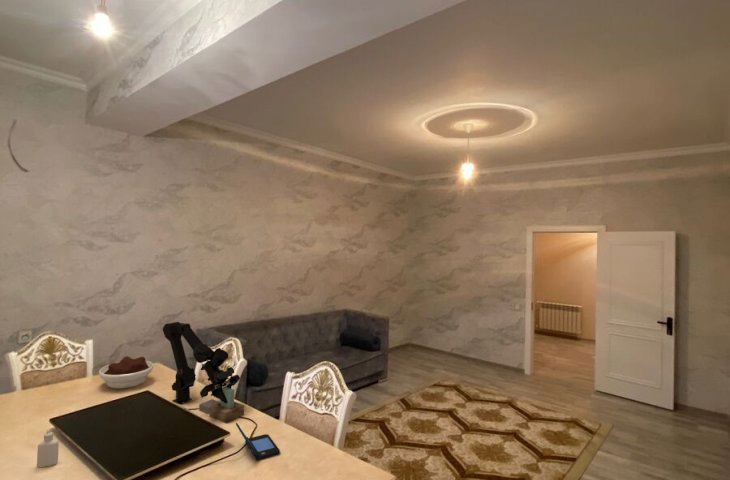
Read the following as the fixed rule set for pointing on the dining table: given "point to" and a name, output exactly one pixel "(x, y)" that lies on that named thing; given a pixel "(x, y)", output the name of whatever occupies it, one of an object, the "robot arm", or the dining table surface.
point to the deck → (207, 406)
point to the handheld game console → (261, 445)
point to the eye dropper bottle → (47, 450)
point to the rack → (226, 412)
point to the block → (228, 398)
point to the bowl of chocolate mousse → (126, 372)
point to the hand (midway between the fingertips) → (229, 401)
